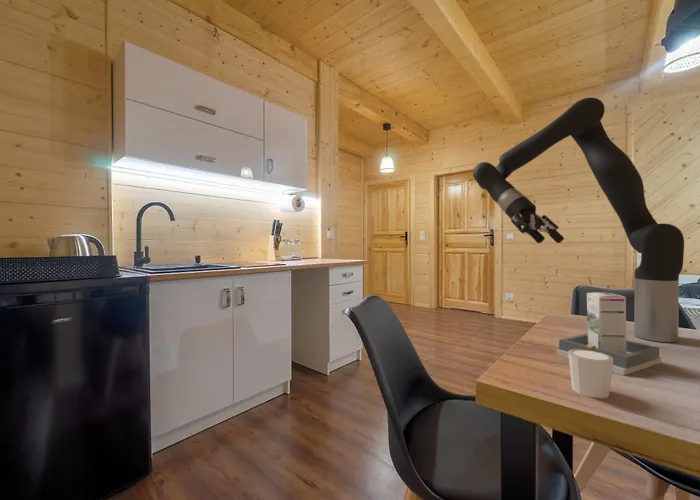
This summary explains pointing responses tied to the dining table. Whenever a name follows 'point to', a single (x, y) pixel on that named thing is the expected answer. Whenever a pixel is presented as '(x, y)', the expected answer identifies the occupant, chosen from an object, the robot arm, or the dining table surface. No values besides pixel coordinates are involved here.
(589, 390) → the white cup
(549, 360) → the dining table surface
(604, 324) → the syrup box
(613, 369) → the pocket plate
